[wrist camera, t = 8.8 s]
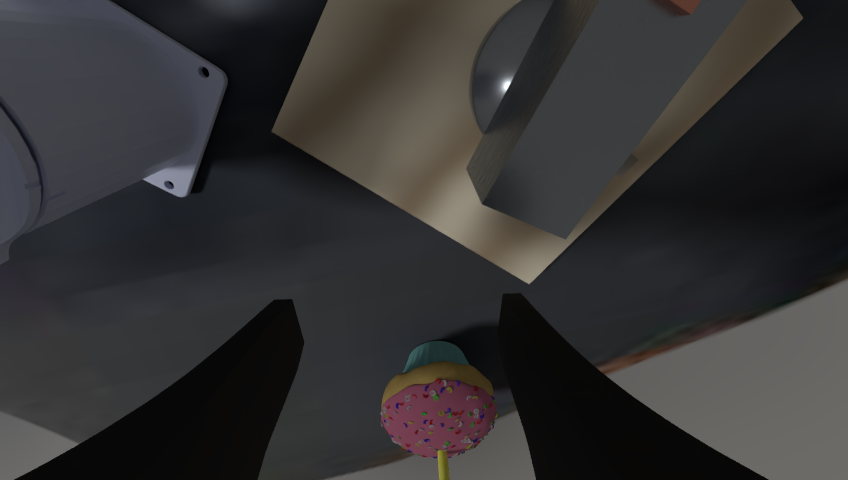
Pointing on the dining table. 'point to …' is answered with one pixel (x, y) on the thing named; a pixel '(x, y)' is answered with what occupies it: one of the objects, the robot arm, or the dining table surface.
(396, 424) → the cupcake
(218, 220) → the dining table surface
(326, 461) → the dining table surface
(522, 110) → the grey block
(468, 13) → the post base
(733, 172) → the dining table surface
